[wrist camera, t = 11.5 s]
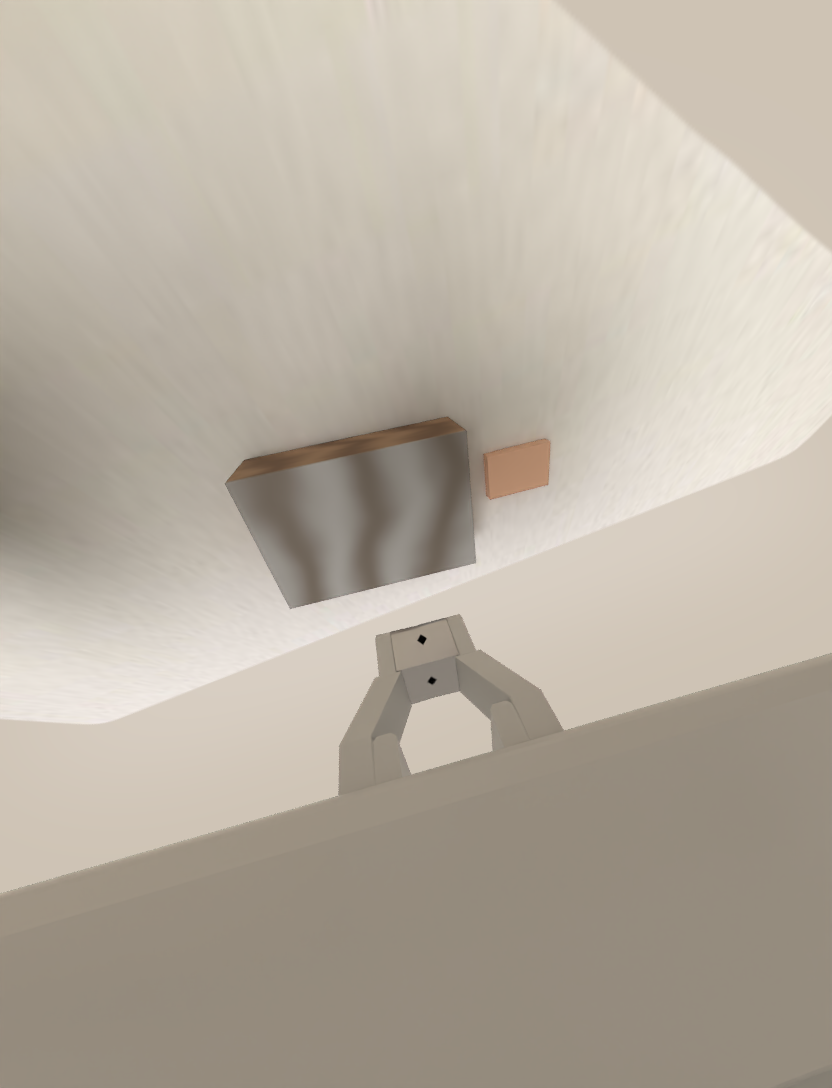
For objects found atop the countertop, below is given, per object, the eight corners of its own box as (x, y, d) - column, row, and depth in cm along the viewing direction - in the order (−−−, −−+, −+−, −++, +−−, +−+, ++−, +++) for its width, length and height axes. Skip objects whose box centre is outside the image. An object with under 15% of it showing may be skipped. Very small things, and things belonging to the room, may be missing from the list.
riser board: (297, 573, 39) (290, 608, 34) (244, 460, 31) (224, 483, 26) (459, 535, 40) (475, 562, 35) (447, 416, 32) (466, 430, 27)
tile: (548, 484, 37) (541, 479, 39) (550, 441, 35) (542, 437, 36) (490, 499, 37) (484, 494, 38) (487, 457, 34) (481, 452, 35)
